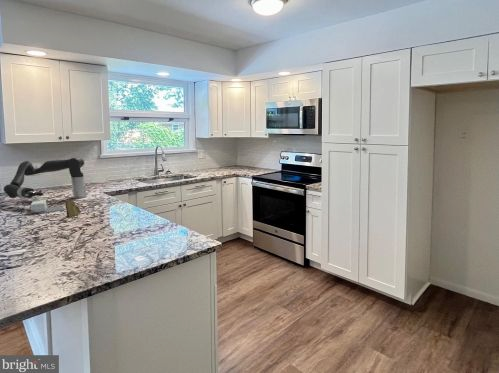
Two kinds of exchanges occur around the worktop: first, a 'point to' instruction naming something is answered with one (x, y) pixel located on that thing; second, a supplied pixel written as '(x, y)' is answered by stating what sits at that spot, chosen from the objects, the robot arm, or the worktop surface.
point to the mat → (52, 209)
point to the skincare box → (38, 206)
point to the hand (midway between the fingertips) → (41, 194)
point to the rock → (71, 208)
